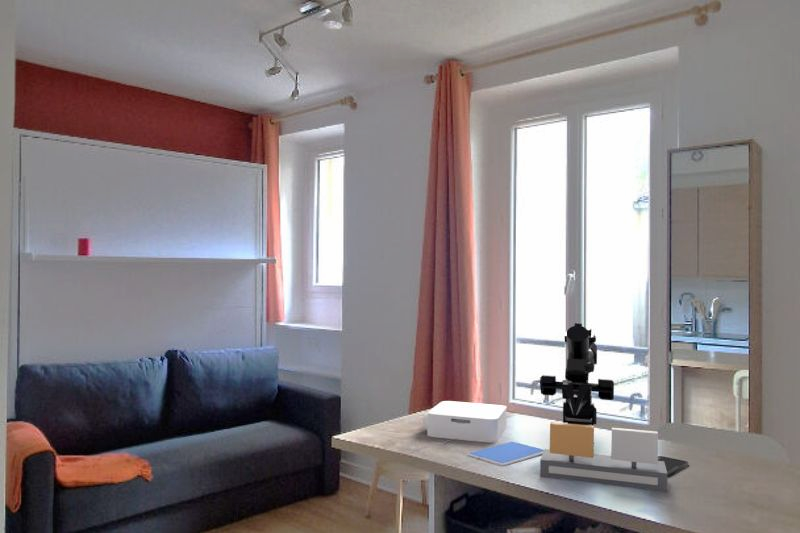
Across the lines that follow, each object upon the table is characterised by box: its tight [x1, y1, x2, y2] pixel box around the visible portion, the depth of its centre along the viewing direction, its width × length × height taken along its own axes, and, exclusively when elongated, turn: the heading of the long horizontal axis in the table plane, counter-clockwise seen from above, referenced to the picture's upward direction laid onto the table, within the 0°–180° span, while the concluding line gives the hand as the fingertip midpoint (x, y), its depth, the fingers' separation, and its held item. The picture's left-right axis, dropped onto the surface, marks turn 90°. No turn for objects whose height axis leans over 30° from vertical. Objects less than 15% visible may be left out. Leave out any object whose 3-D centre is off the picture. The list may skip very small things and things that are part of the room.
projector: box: [422, 400, 508, 444], centre depth 196 cm, size 21×22×7 cm
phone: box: [658, 455, 689, 478], centre depth 163 cm, size 8×1×15 cm
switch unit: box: [539, 448, 668, 492], centre depth 154 cm, size 10×28×4 cm, turn 72°
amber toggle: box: [549, 421, 595, 460], centre depth 153 cm, size 2×10×8 cm, turn 72°
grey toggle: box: [610, 427, 659, 466], centre depth 149 cm, size 2×10×8 cm, turn 71°
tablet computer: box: [466, 441, 545, 467], centre depth 172 cm, size 19×13×1 cm, turn 132°
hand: (574, 414), depth 165 cm, fingers closed
